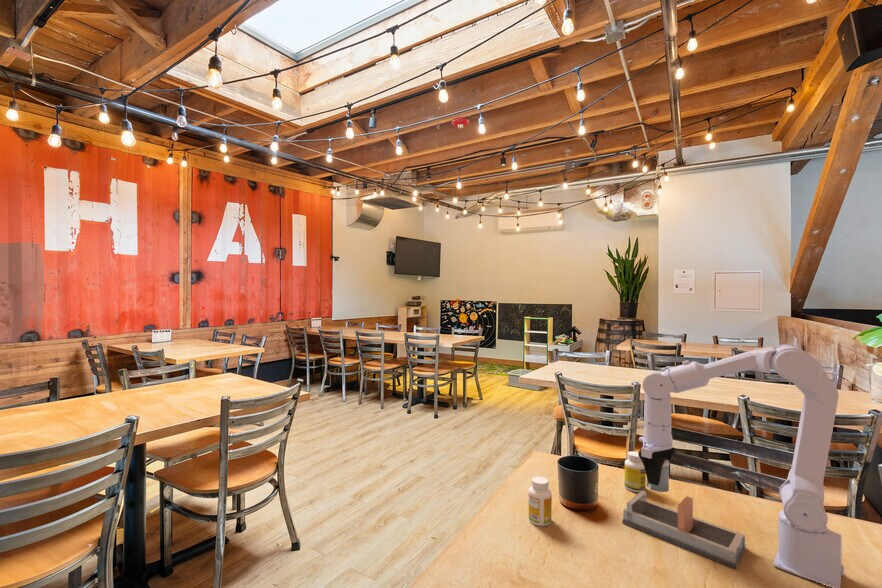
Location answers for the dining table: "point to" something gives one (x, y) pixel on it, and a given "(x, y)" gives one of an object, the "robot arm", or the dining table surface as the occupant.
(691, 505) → the plate
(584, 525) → the dining table surface
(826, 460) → the robot arm
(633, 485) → the supplement bottle
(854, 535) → the dining table surface
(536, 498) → the supplement bottle
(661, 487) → the jar
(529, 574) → the dining table surface
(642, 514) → the pusher lane
